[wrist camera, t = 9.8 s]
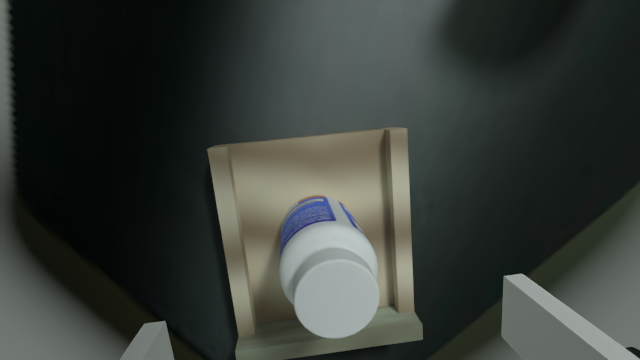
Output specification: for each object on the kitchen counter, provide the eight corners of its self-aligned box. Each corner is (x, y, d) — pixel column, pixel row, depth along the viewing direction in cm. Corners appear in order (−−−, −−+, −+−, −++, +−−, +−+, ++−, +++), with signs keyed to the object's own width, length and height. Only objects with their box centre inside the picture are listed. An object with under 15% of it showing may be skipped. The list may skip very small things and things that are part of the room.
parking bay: (215, 145, 23) (200, 151, 19) (395, 127, 24) (415, 129, 20) (245, 329, 26) (237, 366, 23) (404, 307, 27) (422, 339, 23)
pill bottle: (272, 250, 24) (259, 339, 15) (294, 182, 23) (297, 231, 14) (339, 269, 25) (369, 365, 15) (364, 205, 24) (412, 265, 14)
